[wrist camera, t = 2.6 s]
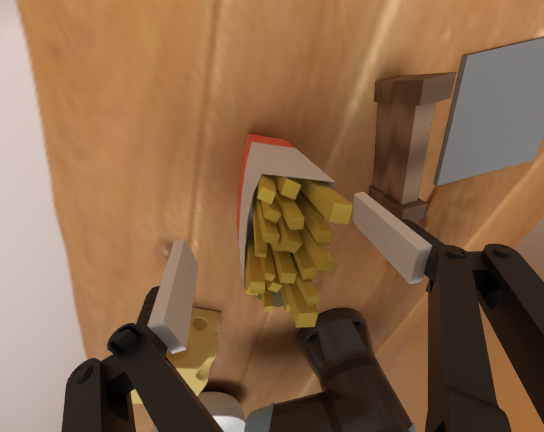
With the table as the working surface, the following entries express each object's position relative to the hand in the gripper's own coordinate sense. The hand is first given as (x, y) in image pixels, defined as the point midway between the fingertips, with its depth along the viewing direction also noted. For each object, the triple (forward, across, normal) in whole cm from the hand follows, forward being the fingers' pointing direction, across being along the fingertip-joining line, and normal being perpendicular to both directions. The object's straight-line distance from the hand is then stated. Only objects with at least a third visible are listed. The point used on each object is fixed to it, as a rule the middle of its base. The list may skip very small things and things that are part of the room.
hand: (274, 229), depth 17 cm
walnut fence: (+12, -17, 0) cm, 21 cm away
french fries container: (+13, 0, 0) cm, 13 cm away
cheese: (+12, +19, +24) cm, 33 cm away
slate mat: (+12, -34, 0) cm, 36 cm away
